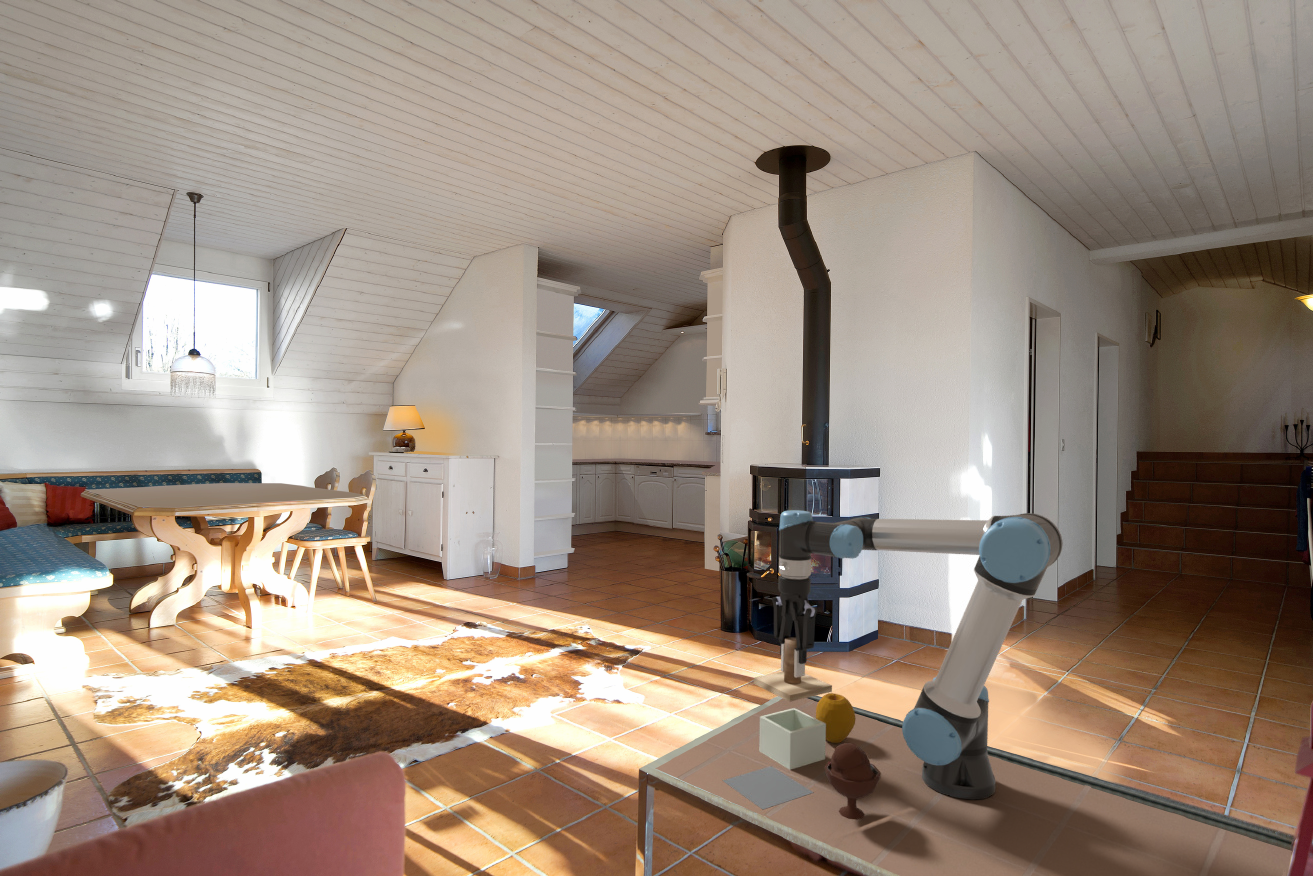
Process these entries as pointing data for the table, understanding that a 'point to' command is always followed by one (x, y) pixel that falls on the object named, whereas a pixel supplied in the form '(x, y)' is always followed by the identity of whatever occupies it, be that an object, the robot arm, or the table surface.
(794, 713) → the pale green open box
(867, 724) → the table surface
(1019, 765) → the table surface
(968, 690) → the robot arm
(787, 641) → the lid
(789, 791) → the mat
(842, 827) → the table surface
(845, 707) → the apple
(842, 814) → the ice cream bowl
